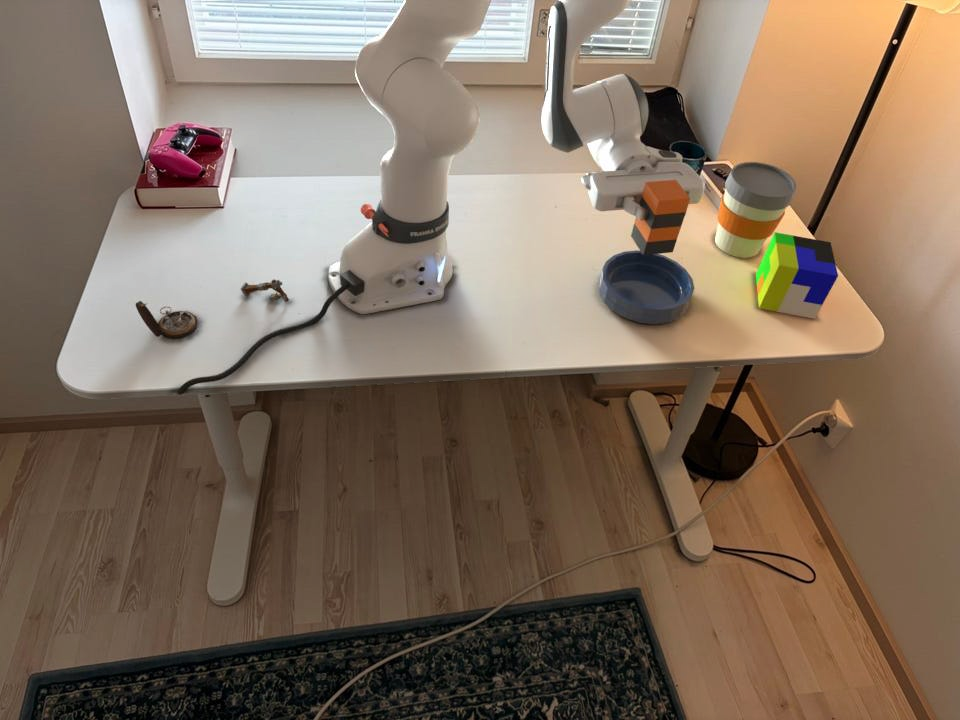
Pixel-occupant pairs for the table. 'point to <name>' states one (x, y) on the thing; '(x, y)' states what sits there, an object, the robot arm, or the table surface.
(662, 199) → the puzzle tower
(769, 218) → the reusable coffee cup
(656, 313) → the bowl
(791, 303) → the puzzle toy
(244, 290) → the gnarled brown twig
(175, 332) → the compass
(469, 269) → the table surface
